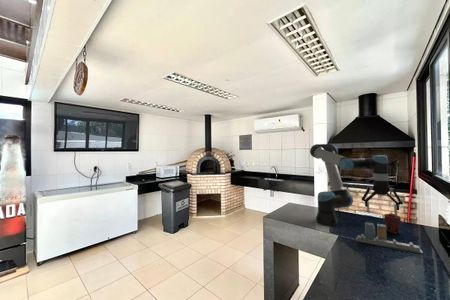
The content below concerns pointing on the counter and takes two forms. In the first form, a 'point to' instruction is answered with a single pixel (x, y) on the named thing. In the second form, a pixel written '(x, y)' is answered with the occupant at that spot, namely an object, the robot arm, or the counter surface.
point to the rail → (385, 243)
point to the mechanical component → (392, 223)
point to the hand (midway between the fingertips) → (381, 213)
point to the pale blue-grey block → (381, 232)
